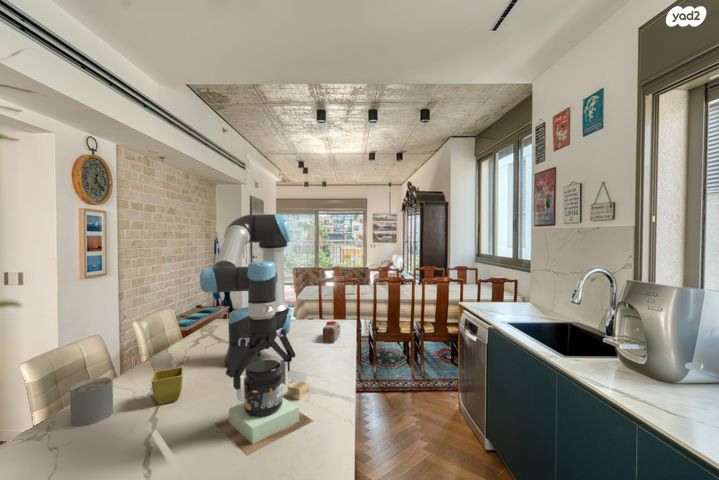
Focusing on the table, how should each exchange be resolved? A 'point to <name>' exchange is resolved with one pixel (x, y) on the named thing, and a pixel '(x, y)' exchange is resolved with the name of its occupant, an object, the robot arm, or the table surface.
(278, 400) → the supplement container
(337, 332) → the food item
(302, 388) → the block
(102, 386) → the coffee mug
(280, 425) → the pedestal slab
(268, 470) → the table surface
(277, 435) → the board
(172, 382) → the flower pot
